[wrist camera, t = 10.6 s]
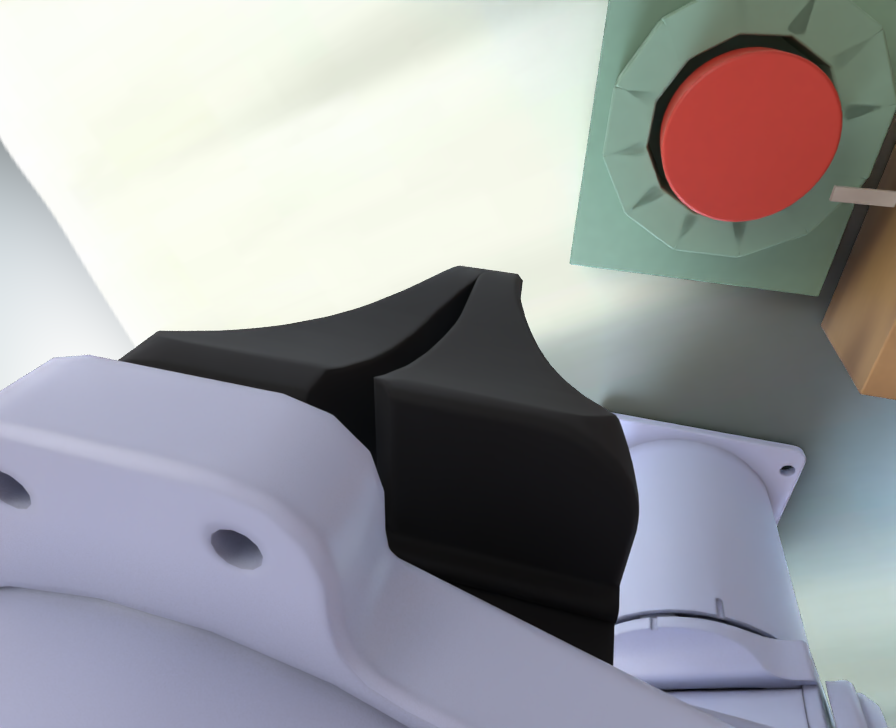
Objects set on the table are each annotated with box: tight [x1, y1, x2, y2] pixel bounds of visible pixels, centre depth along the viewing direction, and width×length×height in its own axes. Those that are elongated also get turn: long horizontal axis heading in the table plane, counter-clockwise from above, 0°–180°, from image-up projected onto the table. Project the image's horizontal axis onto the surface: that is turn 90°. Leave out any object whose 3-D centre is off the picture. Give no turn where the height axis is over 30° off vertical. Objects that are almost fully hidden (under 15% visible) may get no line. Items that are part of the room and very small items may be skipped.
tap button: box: [660, 47, 843, 222], centre depth 15 cm, size 4×4×2 cm
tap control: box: [570, 0, 896, 296], centre depth 17 cm, size 10×8×3 cm
